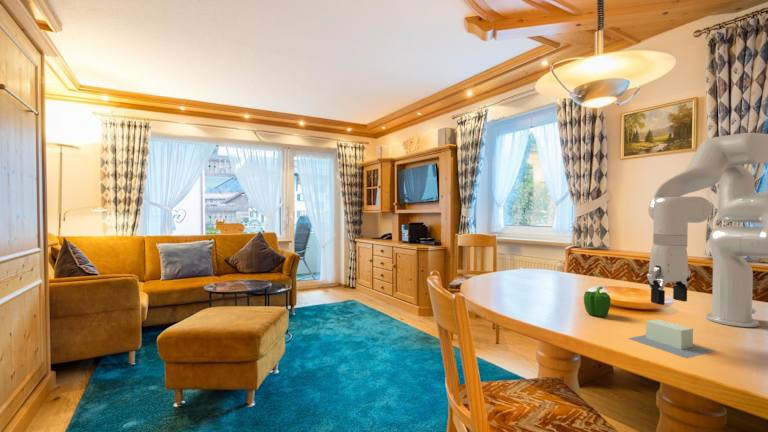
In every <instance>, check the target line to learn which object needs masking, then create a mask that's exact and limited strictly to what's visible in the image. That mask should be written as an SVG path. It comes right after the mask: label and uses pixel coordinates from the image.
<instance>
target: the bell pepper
mask: <svg viewBox="0 0 768 432" xmlns="http://www.w3.org/2000/svg"><path fill="white" fill-rule="evenodd" d="M602 289H603V286H601V285H598V287H597V288H596V291H595V290H594V291H587V290H586V291H584V296H583V305H584V308H585V311H586V313H587V314H588V315H590V316H593V317H594V316H597V317H601V318H602V317H603V318H604V317H607V316H608V314H609V311H610V308H611V300H612V299H611V297H610V294H608V293H607V292H600V290H602Z"/></svg>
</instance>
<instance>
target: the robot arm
mask: <svg viewBox="0 0 768 432" xmlns="http://www.w3.org/2000/svg"><path fill="white" fill-rule="evenodd" d="M766 163H768V133H760V132H743V133H742V132H741V133H736V134H734V133H733V134H728V135H721V136H714V137H710V138H707V139H705V140H703V141H702V142H701V143H700V144H699V145H698V147H697V149H696V150H695V153H694V154H693V155H692V158H691V160H690V162H689V164H688V165H687V167H686V169H685V170H683V171H681V172H679V173H677V174H675V175H674V176H673V177H670V178H669V179H668V180H667V179H666V180H665V182H663V183H662V184H660V186H658V188H657V189H656V190H655V192H654V193H653V195H652V198H651V200H650V201H649V204H648V215H649V217H650V218H651V219H652V220H653V227H652V229H653V231H652V232H653V234H652V235H653V237H652V246H651V249H650V250H651V251H650V257H649V266H648V273H647V274H646V277H647V278H646V279H647V280H648V282H647V283H648V285H649V288H650V302H651V303H652V304H655V305H659V306H660V305H661V306H664V305H665V301H666V300H665V299H666V297H665V295H666V291H665V289H664V288H665V287H666V285H667V284H672V283H674V285H673V288H672V289H673V291H672V293H673V294H672V298H673V300H676V301H681V302H687V301H688V288H689V281H690V276H691V273H692V271H691V270H690V268H689V263H688V262H689V258H688V250H687V248H688V231H689V230H688V227H689V224H691V223H692V224H694V223H695V224H698V223H703V222H706V221H707V220H708V219H709V218H711V215H712V214H713V213H712V212H713V205H712V203H711V202H710V201H709V200H708V199H706V198H705V197H702V196H697V195H696V196H694V195H693V196H685V195H688V194H691V193H694V192H698V191H702V190H705V189H708V188H710V187H712V186H713V187H714V186H715V185H717V184H718V198H717V215H718V216H717V217H718V218H719V219H721V220H722V221H724V222H729V223H748V224H749V223H754V224H755V223H757V224H762V225H763V226H760V227H759V226H742V225H741V226H738V225H737V226H735V225H725V226H719V227H716V228H714V229H712V231H711V232H710V233H709V245H710V249H711V255H712V297H711V298H712V300H711V301H712V302H711V303H712V304H711V305H712V306H711V307H712V308H711V311H712V312H708V313H706V314H705V318H706V319H707V320H709V321H711V322H715V323H718V324H722V325H728V326H733V327H738V328H739V327H741V328H756V327H759V326H760V322H759V321H758V320H757V319H754V318H753V315H754V314H755V313H756V312H757V311H756V309H755V308H753V287H754V286H753V284H754V283H753V281H754V278H753V277H754V273H753V268H752V266H751V265H750V262H748V261H747V260H746V259H745V258H744V257H748V258H749V257H750V258H751V257H752V258H762V259H768V192H755V191H756V190H755V183H756V179H755V175H754V174H753V173H752V172H751V171H750V170H748V169H747V168H746V167H745V166H743V165H754V164H766Z"/></svg>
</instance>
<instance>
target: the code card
mask: <svg viewBox="0 0 768 432" xmlns="http://www.w3.org/2000/svg"><path fill="white" fill-rule="evenodd" d="M627 339H628V340H631V341H634V342H636V343H640V344H642V345H646V346H649V347H652V348H655V349H658V350H660V351H664V352H667V353H670V354H672V355H675V356H679V357H682V358H685V359H690V358H694V357H698V356H703V355H704V354H705V355H706V354H709V353H713V352H715V350H713V349H709V348H706V347H702V346H699V345H697V344H693V347H690V348H685V349H678V348H675V347H672V346H669V345H666V344H663V343H659V342H656V341H653V340H650V339H647V338H646V334H644V335H638V336H632V337H628V338H627Z"/></svg>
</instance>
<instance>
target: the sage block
mask: <svg viewBox="0 0 768 432" xmlns="http://www.w3.org/2000/svg"><path fill="white" fill-rule="evenodd" d="M645 322H646V323H645V325H646V326H645V333H646V334H645V335H646V338H647V339H650V340H653V341H656V342H659V343H663V344H666V345H669V346H672V347H675V348H678V349H685V348H690V347H693V345H694V328H692V327H688V326H686V325H681V324H677V323H673V322H669V321H665V320H662V319H658V318H657V319H651V320H646V321H645Z"/></svg>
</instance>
